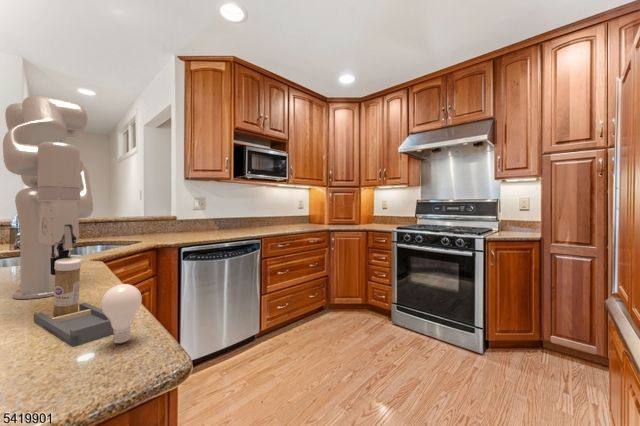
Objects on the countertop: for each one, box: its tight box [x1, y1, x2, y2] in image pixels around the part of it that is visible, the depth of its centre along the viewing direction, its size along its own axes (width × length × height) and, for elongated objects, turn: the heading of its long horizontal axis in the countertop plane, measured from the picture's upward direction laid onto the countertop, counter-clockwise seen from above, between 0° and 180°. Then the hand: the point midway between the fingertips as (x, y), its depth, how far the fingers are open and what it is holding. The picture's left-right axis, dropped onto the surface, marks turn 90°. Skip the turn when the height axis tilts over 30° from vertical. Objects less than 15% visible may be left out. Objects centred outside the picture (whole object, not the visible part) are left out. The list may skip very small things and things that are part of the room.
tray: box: [33, 302, 114, 347], centre depth 63 cm, size 22×9×3 cm, turn 58°
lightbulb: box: [100, 283, 143, 345], centre depth 54 cm, size 6×6×11 cm
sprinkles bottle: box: [52, 257, 82, 318], centre depth 67 cm, size 5×5×13 cm
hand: (60, 273), depth 68 cm, fingers closed
